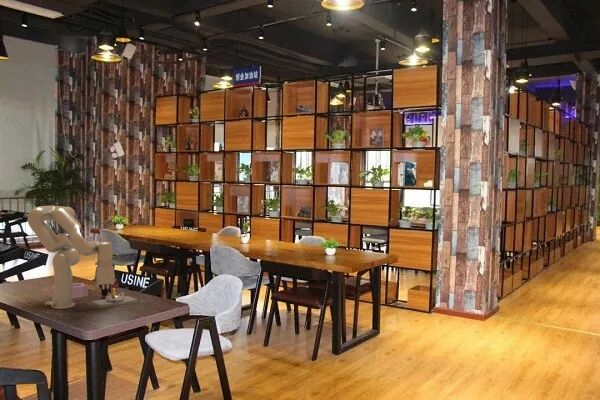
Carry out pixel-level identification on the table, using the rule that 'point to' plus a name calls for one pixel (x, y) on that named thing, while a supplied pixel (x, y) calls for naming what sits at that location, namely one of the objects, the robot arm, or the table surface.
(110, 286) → the mechanical component
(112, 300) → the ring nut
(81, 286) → the pink rectangular box
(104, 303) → the base plate
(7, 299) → the table surface
